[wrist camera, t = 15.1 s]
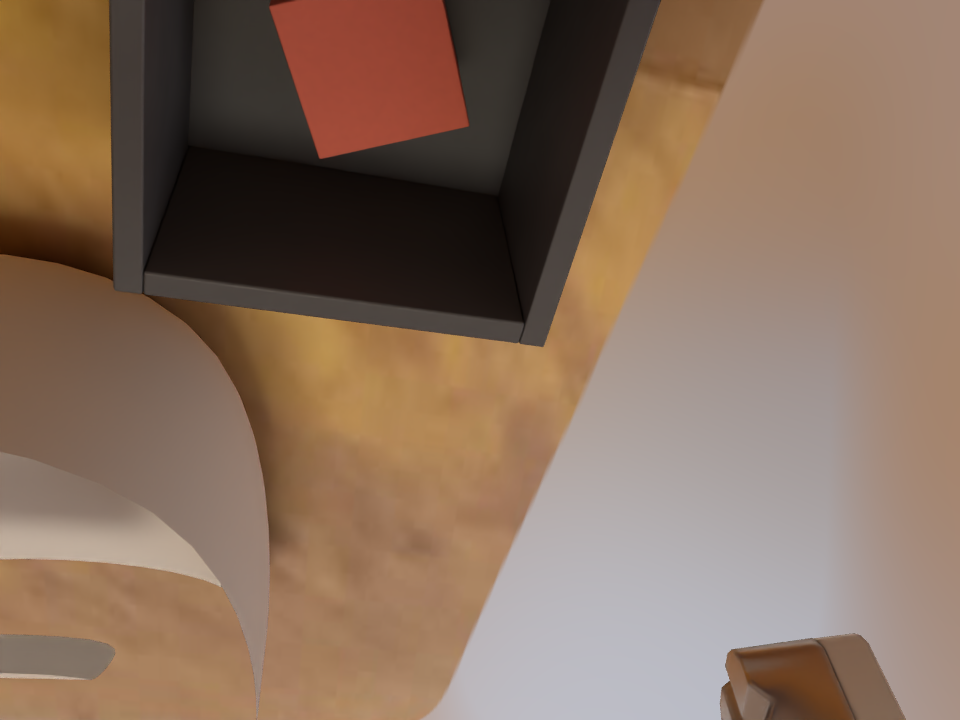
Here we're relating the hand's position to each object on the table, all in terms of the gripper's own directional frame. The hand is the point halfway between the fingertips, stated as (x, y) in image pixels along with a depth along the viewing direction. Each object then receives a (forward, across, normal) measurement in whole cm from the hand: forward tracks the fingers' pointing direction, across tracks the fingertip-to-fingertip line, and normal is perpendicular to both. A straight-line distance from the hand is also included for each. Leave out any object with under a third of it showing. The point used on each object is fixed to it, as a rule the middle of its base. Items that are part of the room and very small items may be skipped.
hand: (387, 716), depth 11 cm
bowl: (+25, +16, +15) cm, 33 cm away
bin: (+25, 0, 0) cm, 25 cm away
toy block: (+24, 0, 0) cm, 24 cm away
